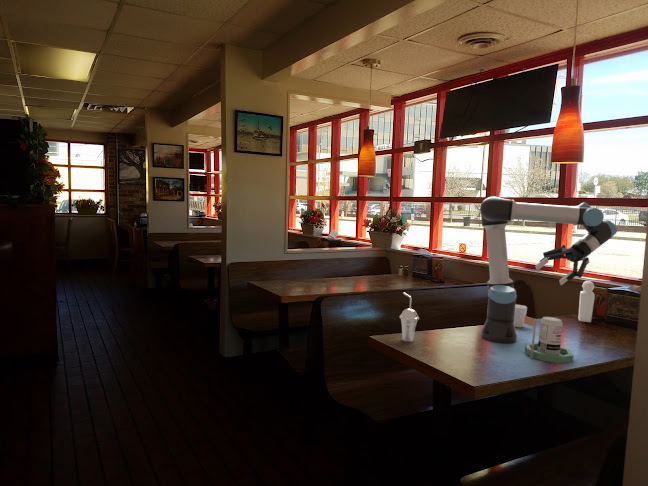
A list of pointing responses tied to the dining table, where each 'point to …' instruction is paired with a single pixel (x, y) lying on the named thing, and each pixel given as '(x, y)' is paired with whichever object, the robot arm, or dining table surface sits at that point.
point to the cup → (533, 352)
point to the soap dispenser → (586, 302)
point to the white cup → (519, 315)
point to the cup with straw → (408, 322)
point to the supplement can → (550, 336)
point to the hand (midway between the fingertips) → (547, 275)
